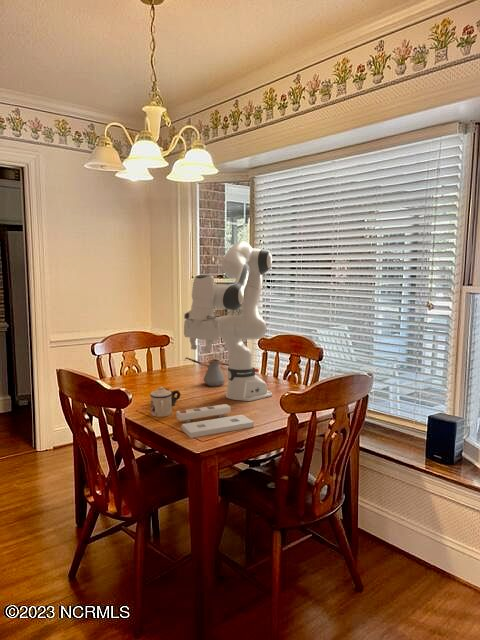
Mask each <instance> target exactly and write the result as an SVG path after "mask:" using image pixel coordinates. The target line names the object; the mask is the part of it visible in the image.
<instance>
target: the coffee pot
mask: <svg viewBox="0 0 480 640" xmlns="http://www.w3.org/2000/svg"><path fill="white" fill-rule="evenodd" d="M186 360H188V361H190V362H193V363H196V364H198V365H202V366H204V367H206V368H207V370H206V373H205V374H204V377H203V382H204V383H205V384H206V385H207V386H209V387H219V386H222V384H224V383H225V382H226V377H225V375H224V373H223V370H222V367H221V366H220V363H221V359H208V361H207V362H208V363H209V364H205V363H202V362H200V361H198V360H196V359H193V358H189V357H187V356H186V357H185V358H184V361H186Z"/></svg>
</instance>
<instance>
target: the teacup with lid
mask: <svg viewBox="0 0 480 640" xmlns="http://www.w3.org/2000/svg"><path fill="white" fill-rule="evenodd" d="M166 389H167V388H164V386H159V387H158V388H157V389H155V390H153V391H151V392H150V393H149V396H150V415H151V416H153V417H156V418H163V417H168V416H170V415H172V412H173V411H172V410H173V409H172V407H173V406H172V403H171V395H172V393H171V392H172V391H171V392H170V390H169V391H168V390H166Z"/></svg>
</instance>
